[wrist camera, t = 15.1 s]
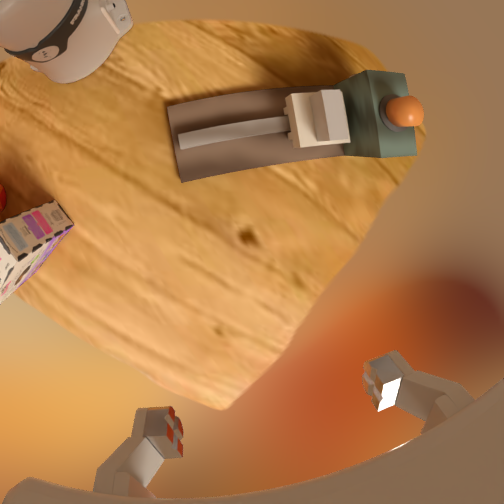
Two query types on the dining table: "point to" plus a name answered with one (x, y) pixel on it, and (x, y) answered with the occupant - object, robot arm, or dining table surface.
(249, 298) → the dining table surface
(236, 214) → the dining table surface
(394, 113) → the button
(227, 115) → the rail base
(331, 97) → the carriage
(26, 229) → the candy box
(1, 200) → the paper cup
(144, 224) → the dining table surface
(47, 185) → the dining table surface
